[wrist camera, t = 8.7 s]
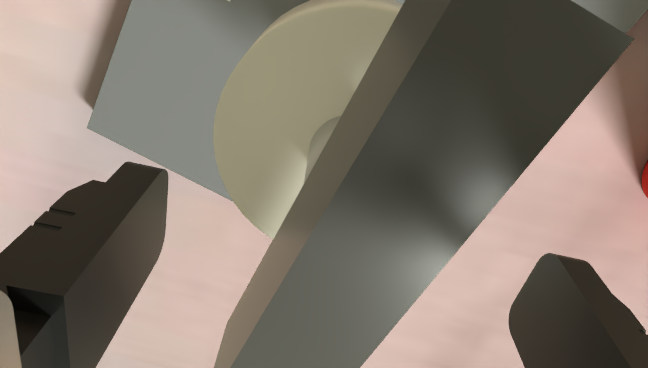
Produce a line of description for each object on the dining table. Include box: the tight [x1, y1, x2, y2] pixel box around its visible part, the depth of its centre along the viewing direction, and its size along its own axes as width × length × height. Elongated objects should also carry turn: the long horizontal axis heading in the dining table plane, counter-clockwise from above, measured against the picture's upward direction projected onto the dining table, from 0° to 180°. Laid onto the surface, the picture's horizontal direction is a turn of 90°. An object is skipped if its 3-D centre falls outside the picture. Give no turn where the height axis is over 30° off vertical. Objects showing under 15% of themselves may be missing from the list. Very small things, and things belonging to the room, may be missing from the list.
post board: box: [87, 0, 648, 201], centre depth 19 cm, size 20×20×8 cm
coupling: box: [213, 0, 634, 368], centre depth 12 cm, size 11×8×8 cm
